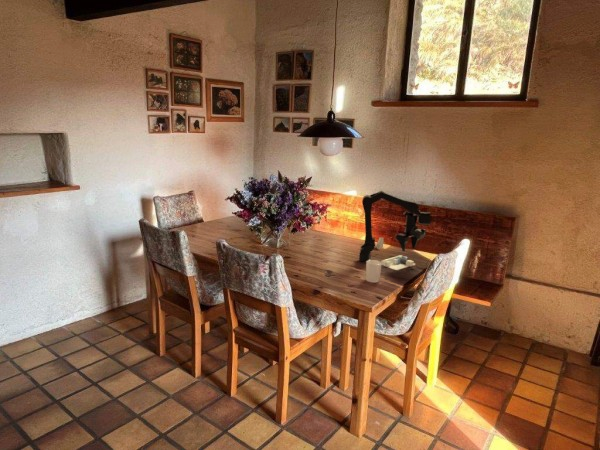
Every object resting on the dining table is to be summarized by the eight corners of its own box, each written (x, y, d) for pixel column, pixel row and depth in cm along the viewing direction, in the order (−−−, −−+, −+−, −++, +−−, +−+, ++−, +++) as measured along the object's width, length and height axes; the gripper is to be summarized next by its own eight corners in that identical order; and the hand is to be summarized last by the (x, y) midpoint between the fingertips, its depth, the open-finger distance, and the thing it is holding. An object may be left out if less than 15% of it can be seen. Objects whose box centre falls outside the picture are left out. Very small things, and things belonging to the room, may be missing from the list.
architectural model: (374, 249, 279) (375, 238, 277) (378, 246, 284) (379, 236, 283) (379, 250, 277) (380, 239, 275) (383, 247, 283) (384, 237, 281)
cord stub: (410, 266, 243) (410, 262, 242) (396, 261, 250) (397, 257, 249) (413, 265, 245) (413, 261, 244) (399, 261, 252) (400, 256, 251)
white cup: (378, 277, 227) (379, 259, 224) (381, 283, 219) (383, 264, 217) (363, 277, 226) (365, 259, 224) (366, 283, 219) (367, 264, 216)
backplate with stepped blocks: (396, 271, 236) (397, 265, 235) (381, 266, 245) (381, 259, 244) (415, 265, 248) (416, 259, 247) (400, 260, 256) (401, 254, 255)
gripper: (412, 228, 229) (410, 256, 232) (433, 224, 240) (430, 250, 244) (396, 224, 237) (393, 251, 241) (416, 220, 248) (413, 246, 252)
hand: (408, 249), depth 244 cm, fingers open, 9 cm apart
